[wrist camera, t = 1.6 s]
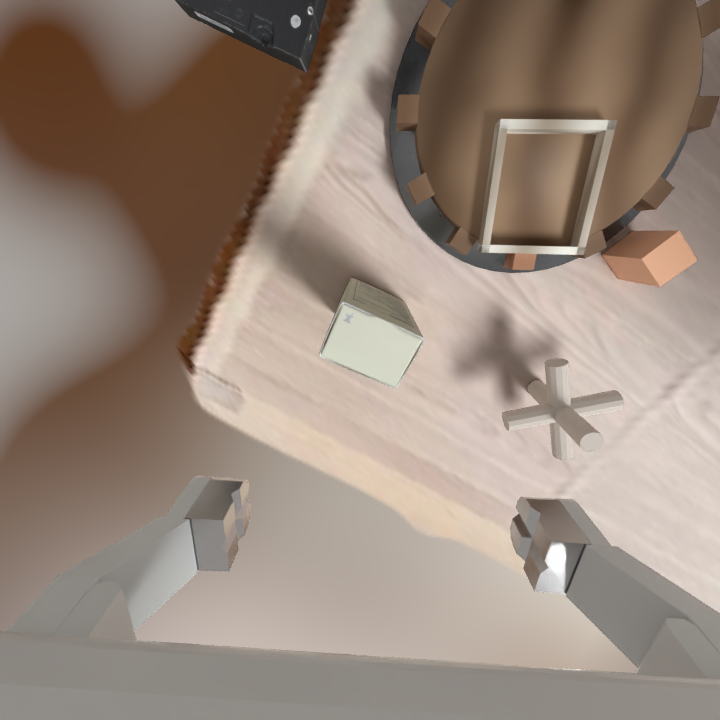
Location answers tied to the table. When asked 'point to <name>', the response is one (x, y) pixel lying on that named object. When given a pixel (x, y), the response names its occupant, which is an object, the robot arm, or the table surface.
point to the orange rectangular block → (650, 257)
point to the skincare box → (372, 334)
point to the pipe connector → (563, 411)
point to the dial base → (427, 210)
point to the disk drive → (265, 24)
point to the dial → (552, 116)
